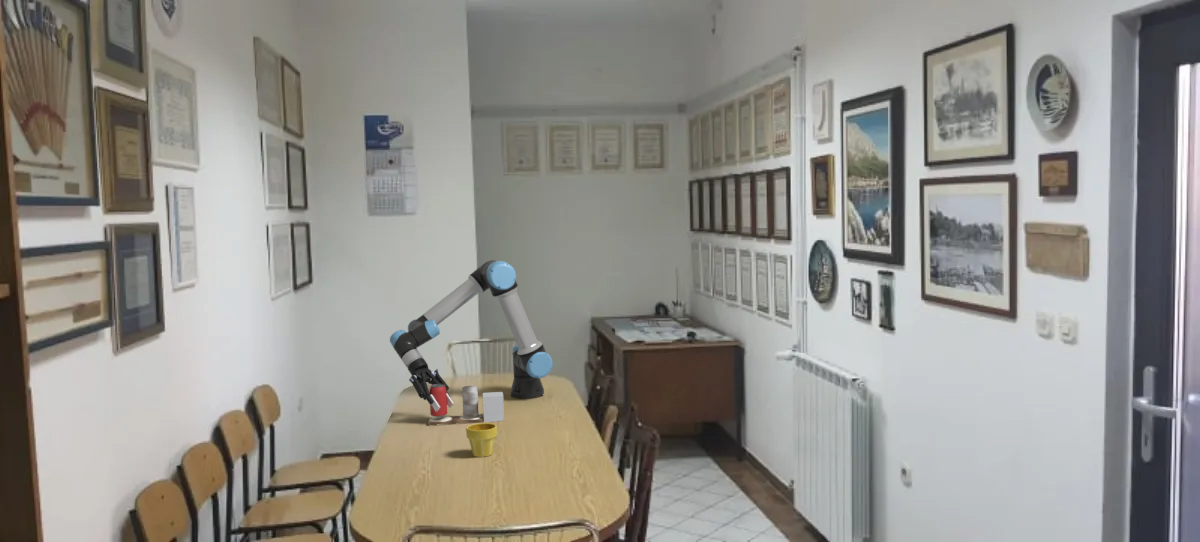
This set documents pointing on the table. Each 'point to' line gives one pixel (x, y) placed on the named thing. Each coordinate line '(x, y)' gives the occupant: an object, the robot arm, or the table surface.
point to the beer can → (439, 399)
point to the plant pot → (482, 438)
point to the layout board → (468, 409)
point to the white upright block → (493, 406)
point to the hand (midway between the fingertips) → (444, 407)
